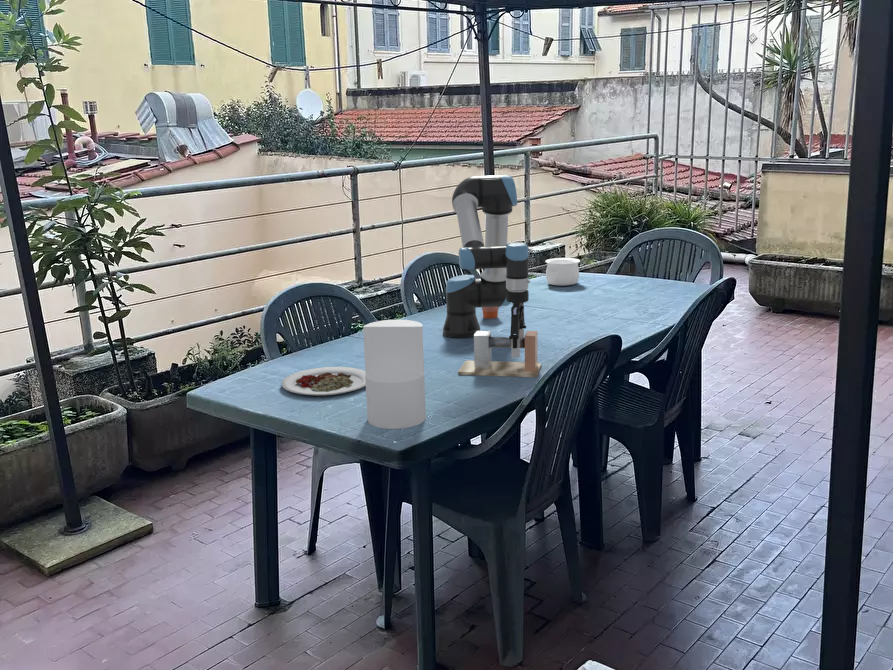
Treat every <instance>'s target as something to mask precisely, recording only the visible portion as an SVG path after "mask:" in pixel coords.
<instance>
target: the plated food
mask: <svg viewBox="0 0 893 670" xmlns="http://www.w3.org/2000/svg"><path fill="white" fill-rule="evenodd" d="M365 374H366V372H365V369H360V368H355V367H347V366H325V367H317V368H316V367H315V368H310V369H304V370H301V371H297V372H294V373H292V374H290V375H288V376H286V377H284V379H283V380H282V381H281V387H282V388H283V389H284V390H286V391H288V392H291V393H294V394H297V395H306V396H334V395H340V394H346V393H348V392H349V393H350V392H352V391H353V392H354V391H357V390H359V389H362V388H364V387H366V381H365Z"/></svg>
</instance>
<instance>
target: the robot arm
mask: <svg viewBox="0 0 893 670" xmlns="http://www.w3.org/2000/svg"><path fill="white" fill-rule="evenodd" d="M451 205H452V209H453V211H454V212H455V213H456V217H457V223H458V228H459V229H458V230H459V234H460V239H461V245H462V246H461V247H460V248H459V249H458V264H459V268H460V269H462V270H473V271H474V270H483V269H484V270H483V271H482V272H481V274H480V278H476V276H475V275H474V274H461V275H457V276H453V277H451V278H449V279H447V281H446V283H445V284H446V285H445V286H446V287H445V293H446V316H445V321H444V324H443V327H442V335H444V336H445V337H447V338H448V337H449V338H454V339H455V338H456V339H458V338H459V339H465V338H466V339H467V338H474V334H475V333H476V332H477V331H481V326H480V324H479V320H478V317H477V312H476V311H477V309H476V308H482V307H499V308H502V307H508V306H510V304H511V303H512V306H511V308H510V336H508V337H509V339H511V348H510V351H511V352H510V354H511V356H510V357H511V358H520V351H521V348H520V340H519V337H520V338H525V329H527V325H526V322H525V306H524V303H527V302H529V300H530V299H529V296H530V295H529V290H528V289H529V284H530V283H531V280H530V279H529V256H530V253H529V245H527V243H521V242H516V243H515V242H514V243H508V234H509V233H508V230H509V229H508V228H509V227H508V226H509V215H510V214H511V213H512V212H513V207H517V205H518V196H517V188H516V183H515V180H514V178H513V177H512V176H511V175H506V174H505V175H504V174H500V175H499V174H497V175H496V174H495V175H479V176H478V175H473V176H469V177H467V178H465V179H463V180H462V181H461V182H460V183H458V184H457V186H456V188H455V189H454V190H453V193H452V198H451ZM478 208H481V211H482V212H483V214H485V235H484V237H485V239H484V237H483V233H482V228H481V223H480V218H479V212H478ZM484 241H485V242H484Z"/></svg>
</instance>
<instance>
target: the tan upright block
mask: <svg viewBox="0 0 893 670" xmlns="http://www.w3.org/2000/svg"><path fill="white" fill-rule="evenodd" d="M524 338H525V348H524V362H525V371H536V369H537V366H538V363H539V362H538V361H539V360H538V352H539V351H538V348H539V347H538V344H539V343H538V338H539V337H538V330H527V331H526V333H524Z"/></svg>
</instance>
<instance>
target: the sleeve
mask: <svg viewBox="0 0 893 670" xmlns="http://www.w3.org/2000/svg"><path fill="white" fill-rule="evenodd" d="M489 337H492V331H491V330H487V331H486V330H480V331H477V332H476V333H475V334H474V337H473V352H474V353H473V355H474V356H473V359H474V360H473V361H474V368H475V369H489V368H490V366H491V365H492V361H493V360H492V347H489Z"/></svg>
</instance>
